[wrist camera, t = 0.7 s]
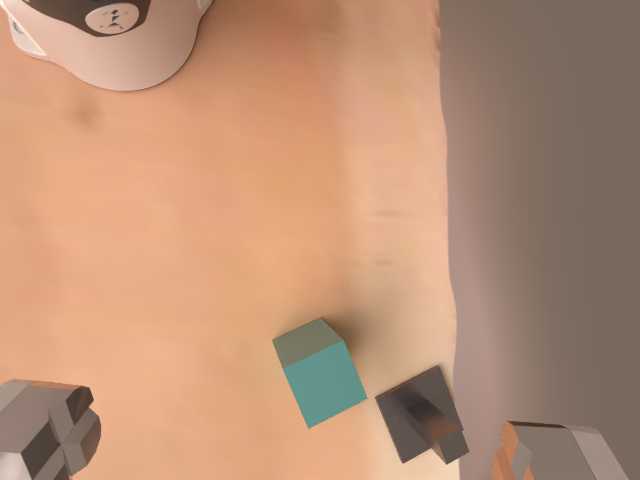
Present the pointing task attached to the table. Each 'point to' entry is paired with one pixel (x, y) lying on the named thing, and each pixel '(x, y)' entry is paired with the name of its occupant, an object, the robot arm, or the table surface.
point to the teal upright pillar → (319, 371)
